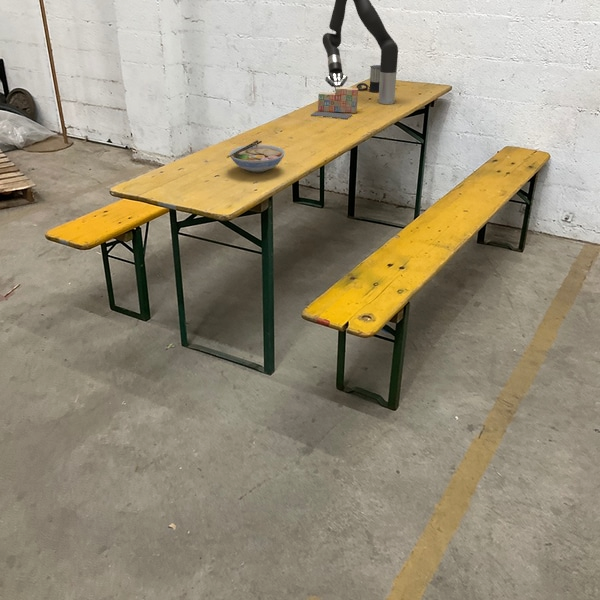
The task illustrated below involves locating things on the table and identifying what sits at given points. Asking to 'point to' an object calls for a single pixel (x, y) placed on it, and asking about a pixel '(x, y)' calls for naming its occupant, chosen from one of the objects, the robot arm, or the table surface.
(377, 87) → the milk frother
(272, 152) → the ramen bowl
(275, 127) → the table surface
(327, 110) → the stack of blocks
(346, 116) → the charcoal rubber mat
